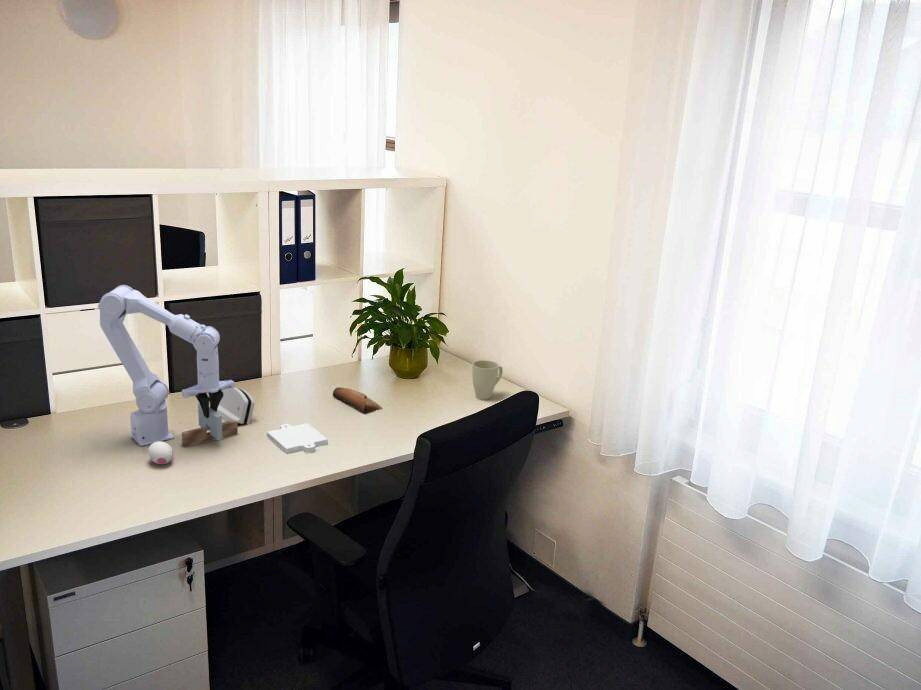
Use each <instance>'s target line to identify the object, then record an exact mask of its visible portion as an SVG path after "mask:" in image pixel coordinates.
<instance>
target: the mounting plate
mask: <svg viewBox="0 0 921 690" xmlns="http://www.w3.org/2000/svg"><path fill="white" fill-rule="evenodd" d="M266 437H267V438H268V439H269V440H270V441H272V443H274V444H275V445H276V446H277V447H278V448H279V449H281V451H283V452H284V454H286V455H288V454H293V453H296V452H300V451H302V452H305V453H307V454H309V453H314V452H316V448H317V447H320V446H324V445H328V444H329V439H328V438H327V437H326V436H324V435H323V434H322V433H321V432H320V431H318V430H317V429H316V428H314V427H313V426H312V425H310V424H309V423H308V422H306V423H302V424H298V425H297V424H296V425H291V424H290V423H284V424H281V425H280V426H279V429H273V430H269V431H267V432H266Z"/></svg>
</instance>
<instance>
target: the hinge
mask: <svg viewBox="0 0 921 690" xmlns="http://www.w3.org/2000/svg"><path fill="white" fill-rule="evenodd" d="M222 392H223V393H224V395H223V398H222V399H221V401H220V403H219V406H218V409H217V413H218V414H220V415H221V416H222V421H224V422H227V421H231V420H236V421H237V425H238V424H241V425H242V424H244V423H245V424H246V425H250V424H251V421H252V416H253V413H254V409H255V404H256V402H255V400H254V399H253V397H252V395H251V394H250V393H248V391H246V390H245V389H243V388H241V387H239V386H238V387H237V386H234V388H232V389H231V388H228V389H223V390H222Z"/></svg>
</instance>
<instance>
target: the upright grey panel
mask: <svg viewBox="0 0 921 690" xmlns="http://www.w3.org/2000/svg"><path fill="white" fill-rule="evenodd" d="M197 414H198V426H199V428H202V427H205V428H207V432H210V435H212V436H213V437H214V438H215V440H217V441H219V440H223V438H222V423H223V419H222V416H221V415H220V414H218V413H217V412H216V411H214V410H213V409H212V408H210V406H209V418H206V417H204V415H203V411H202V408H201V405H200V403H199V402H198V403H197Z"/></svg>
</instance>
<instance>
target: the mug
mask: <svg viewBox="0 0 921 690" xmlns="http://www.w3.org/2000/svg"><path fill="white" fill-rule="evenodd" d="M502 375H503V367H502V366H501V365H499V363H498V362H495V361H492V360H486V359H480V360H475V361H473V362H472V384H473V390H474V394H475V397H476V398H477V399H478V400H482V401H483V400H484V401H486V400H490V399H491V397H492V394H493V391H494V390H495V387H496V385H497V384H498V383H499V381H500V380H501V378H502Z"/></svg>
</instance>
